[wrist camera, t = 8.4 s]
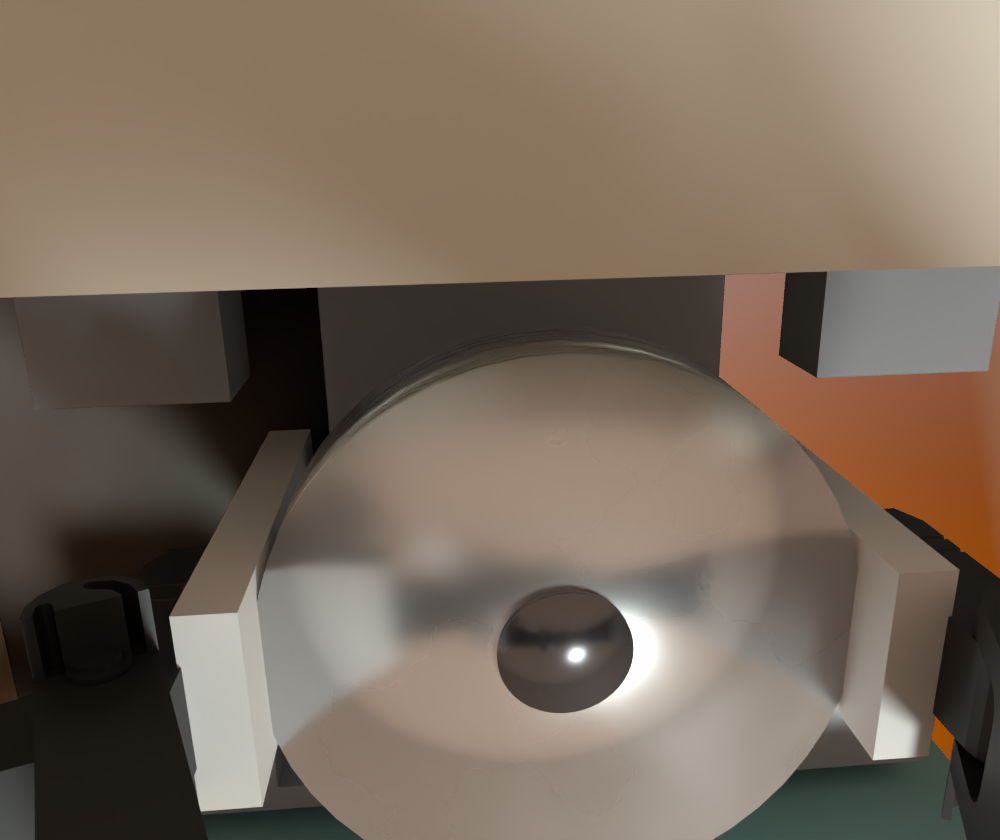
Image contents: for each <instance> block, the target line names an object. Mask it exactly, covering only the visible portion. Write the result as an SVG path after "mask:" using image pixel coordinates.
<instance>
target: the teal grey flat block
mask: <svg viewBox="0 0 1000 840" xmlns="http://www.w3.org/2000/svg"><path fill="white" fill-rule="evenodd" d="M724 284H725V275H699V276H667V277H636V278H604V279H573V280H541V281H509V282H478V283H446V284H415V285H383V286H352V287H320V288H317V290H318V302H319V313H320V325H321V337H322V349H323V360H324V372H325V384H326V396H327V407H328V419H329V431H330V433H331V432H332V430H333V429H334V428H335V427H336V425H337V424H338V423H339V422H340V421H341V419H342V418H343V417H344V416H345V415H346V414H347V413H349V412H350V411H351V410H352V409H353V408H354V407H355V406H356V405H357V404H358V403H359V402H360V401H361V400H363V399H364V398H365V397H366V396H367V395H368V394H369V393H370V392H371V391H373V390H374V389H376V388H377V387H379V386H380V385H381V384H383V383H384V382H386V381H387V380H388V379H390V378H391V377H393V376H394V375H396V374H397V373H398V372H400V371H401V370H403V369H405V368H407V367H409V366H411V365H413V364H414V363H416V362H418V361H420V360H422V359H424V358H426V357H428V356H430V355H432V354H433V353H435V352H438V351H441V350H443V349H446V348H449V347H451V346H454V345H457V344H460V343H462V342H465V341H468V340H470V339H474V338H478V337H482V336H487V335H491V334H495V333H500V332H504V331H508V330H516V329H526V328H536V327H546V326H555V327H587V328H593V329H599V330H605V331H611V332H618V333H624V334H627V335H630V336H634V337H637V338H640V339H643V340H647V341H650V342H653V343H657V344H660V345H662V346H664V347H666V348H668V349H670V350H673V351H675V352H677V353H679V354H681V355H683V356H685V357H688V358H690V359H692V360H693V361H695V362H697V363H698V364H700V365H701V366H703V367H704V368H706V369H707V370H709V371H710V372H712V373H714V374H715V375H717V376H718V377H719V363H720V348H721V331H722V316H723V300H724ZM13 301H14V307H15V312H16V317H17V322H18V327H19V332H20V337H21V342H22V347H23V352H24V357H25V362H26V367H27V372H28V378H29V383H30V388H31V393H32V398H33V403H34V408H35V410H44V409H68V408H92V407H117V406H141V405H165V404H189V403H214V402H231V401H232V400H233V398H234V397H235V396H236V394H237V393H238V392H239V390H240V389H241V388H242V386H243V385H244V384H245V382H246V381H247V380H248V378H249V377H250V368H249V359H248V350H247V341H246V333H245V324H244V315H243V306H242V297H241V290H225V291H194V292H162V293H131V294H99V295H68V296H36V297H13ZM999 301H1000V266H983V267H951V268H920V269H888V270H857V271H825V272H794V273H786V279H785V290H784V302H783V314H782V325H781V337H780V349H779V355H780V356H781V357H783V358H785V359H786V360H788V361H790V362H791V363H793V364H795V365H796V366H798V367H800V368H802V369H803V370H805V371H806V372H808V373H810V374H812V375H813V376H815V377H816V378H819V377H820V378H821V377H846V376H870V375H894V374H918V373H942V372H966V371H988V368H989V362H990V356H991V350H992V343H993V338H994V332H995V326H996V319H997V313H998V307H999ZM949 766H950V760H949V759H948V758H947V757H946V756H945V754H944V753H943V752H942V751H941V750H940V749H939V747H938V746H937V745H936V744H935V743H934V741H933V740H932V739H931V745H930V751H929V756H924V757H911V758H897V759H884V760H872V758H871V757H870V756H869V754H868V753H867V752H866V750H865V749H864V747H863V746H862V745H861V743H860V742H859V740H858V739H857V738H856V736H855V735H854V734H853V732H852V731H851V729H850V728H849V727H848V725H847V724H846V723H845V721H844V720H843V718H842V717H841V716H840V714H839V713H838V712H837V710H836V709H835V710H834V712H833V714H832V716H831V718H830V720H829V722H828V724H827V726H826V728H825V730H824V731H823V733H822V734H821V736H820V737H819V739H818V740H817V742H816V743H815V745H814V746H813V748H812V749H811V751H810V752H809V754H808V755H807V757H806V758H805V759H804V761H803V762H802V763H801V764H800V765H799V766H798V768H797V769H796V770H795V771H794V772H793V773H792V775H791V776H790V777H789V778H788V779H787V781H786V782H785V783H784V784H783V785H782V786H781V787H780V788H779V789H778V790H777V791H776V792H774V793H773V794H772V795H771V796H770V797H769V798H768V799H767V800H766V801H765V802H764V803H763V804H762V805H761V806H760V807H758V808H757V809H756V810H755V811H753V812H752V813H751V814H749V815H748V816H747V817H745V818H744V819H743V820H741V821H740V822H739V823H737V824H736V825H735V826H733V827H732V828H731V829H729V830H728V831H726V832H724V833H723V834H721V835H719V836H718V837H716V838H714V839H713V840H967V839H966V834H965V830H964V826H963V822H962V818H961V814H960V810H959V806H958V805H957V806H956V807H954V808H953V811H952V816H951V820H946V819H941V815H942V805H943V800H944V794H945V788H946V783H947V777H948V771H949ZM193 784H194V787H195V791H196V795H197V790H196V783H195V777H194V778H193ZM197 799H198V796H197ZM198 803H199V802H198ZM201 814H202V818H203V822H204V826H205V830H206V834H207V837H208V840H364V839H362V838H361V837H360V836H358V835H357V834H356V833H355V832H353V831H352V830H351V829H349V828H348V827H347V826H345V825H344V824H343V823H341V822H340V821H339V820H338V819H336V818H335V817H334V816H333V815H332V814H331V813H330V812H329V811H328V810H327V809H326V808H325V807H324V806H323V805H322V804H321V803H320V802H319V801H318V800H317V799H316V798H315V797H314V796H313V795H312V794H311V793H310V791H309V790H308V789H307V787H306V786H305V785H304V783H303V782H302V781H301V779H300V778H299V777H298V776H297V774H296V773H295V772H294V770H293V769H292V768H291V766H290V764H289V762H288V761H287V759H286V757H285V755H284V753H283V752H282V750H281V748H280V746H279V744H278V746H277V750H276V754H275V758H274V762H273V766H272V770H271V774H270V778H269V782H268V786H267V791H266V795H265V799H264V803H263V807H252V808H239V809H226V810H213V811H201Z"/></svg>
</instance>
